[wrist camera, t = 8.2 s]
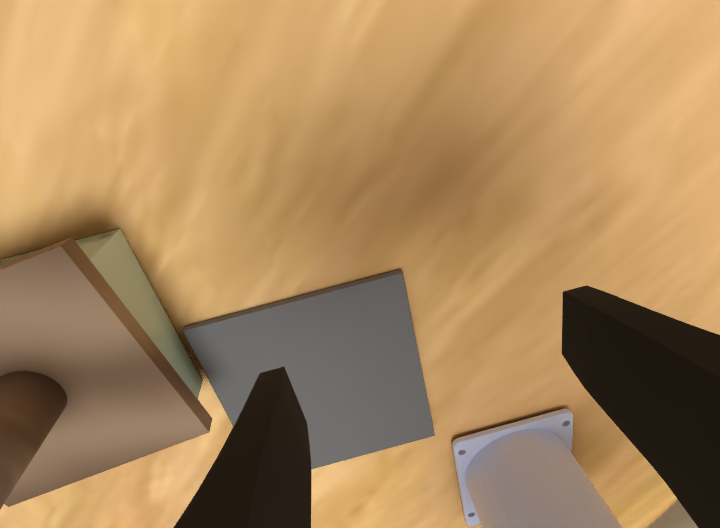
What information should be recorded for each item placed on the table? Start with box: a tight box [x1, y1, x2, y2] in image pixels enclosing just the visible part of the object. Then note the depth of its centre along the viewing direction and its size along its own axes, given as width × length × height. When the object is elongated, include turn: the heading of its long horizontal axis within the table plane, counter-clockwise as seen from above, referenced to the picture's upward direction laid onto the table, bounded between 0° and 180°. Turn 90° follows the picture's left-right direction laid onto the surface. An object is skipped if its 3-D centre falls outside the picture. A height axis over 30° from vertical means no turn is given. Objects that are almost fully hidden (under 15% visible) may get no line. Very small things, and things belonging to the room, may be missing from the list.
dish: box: [0, 229, 203, 399], centre depth 19 cm, size 9×9×3 cm
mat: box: [183, 269, 435, 469], centre depth 23 cm, size 12×11×1 cm
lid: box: [0, 237, 212, 509], centre depth 15 cm, size 10×10×5 cm
